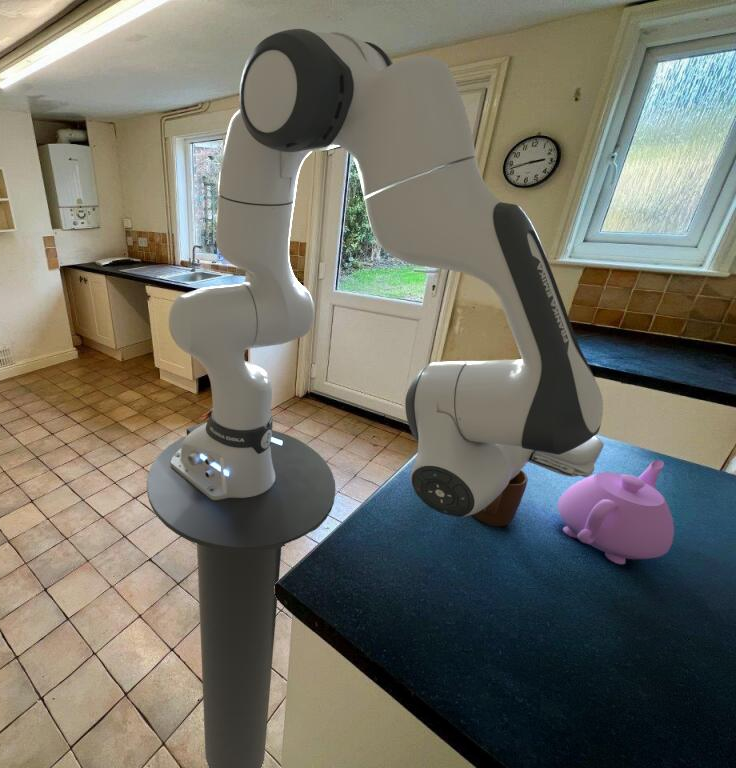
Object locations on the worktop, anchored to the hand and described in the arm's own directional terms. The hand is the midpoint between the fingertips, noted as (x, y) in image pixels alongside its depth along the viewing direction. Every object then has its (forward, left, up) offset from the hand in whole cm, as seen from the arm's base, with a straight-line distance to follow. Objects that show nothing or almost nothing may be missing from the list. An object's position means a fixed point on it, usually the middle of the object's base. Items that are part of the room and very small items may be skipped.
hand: (526, 411), depth 65 cm
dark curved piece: (0, -1, -22) cm, 22 cm away
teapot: (+16, +8, -22) cm, 29 cm away
